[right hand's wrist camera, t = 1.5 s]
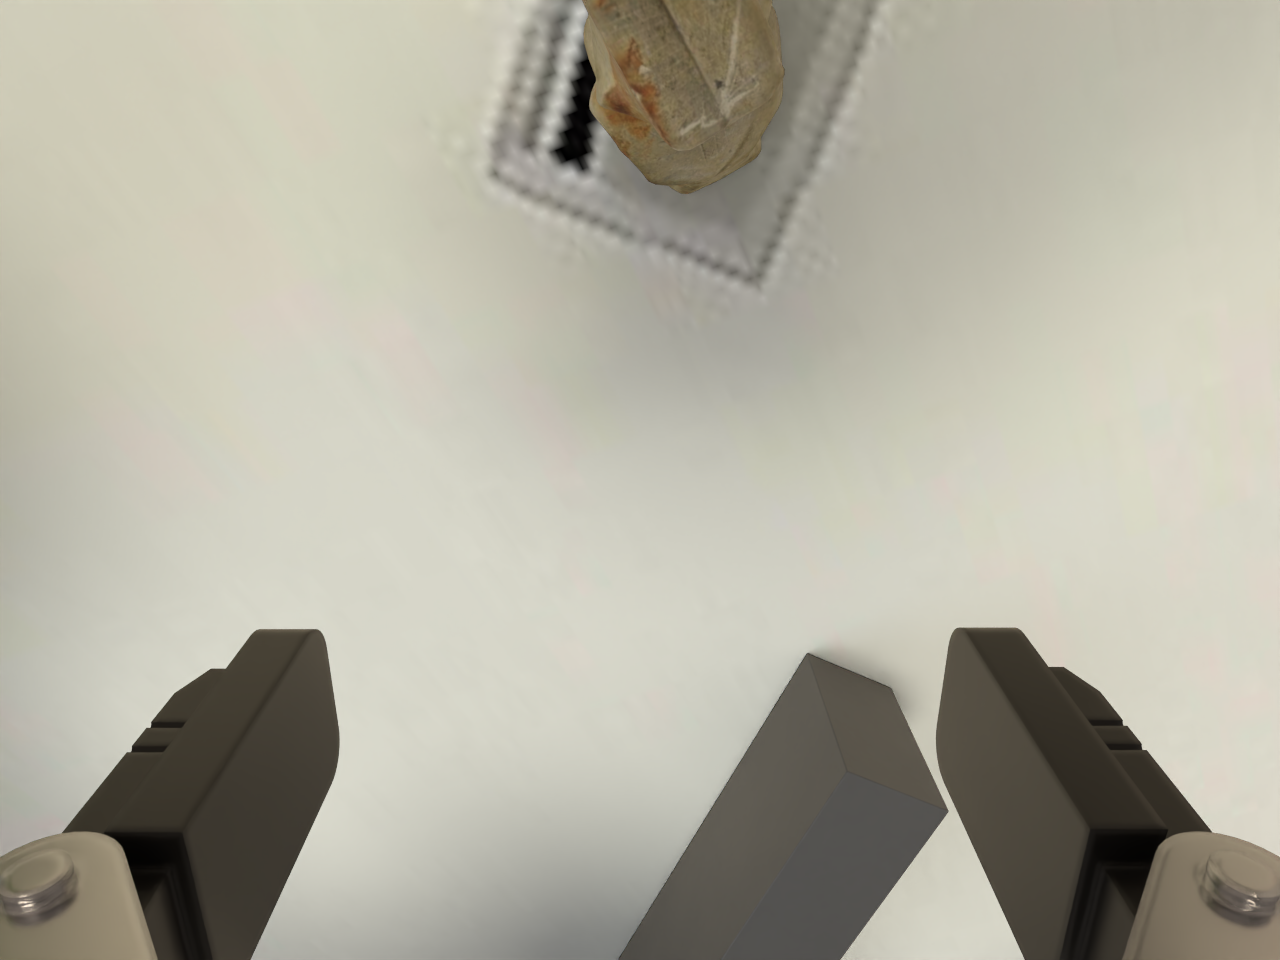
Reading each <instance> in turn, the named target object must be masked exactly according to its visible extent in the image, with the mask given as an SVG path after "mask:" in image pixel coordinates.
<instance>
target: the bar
mask: <svg viewBox="0 0 1280 960" xmlns="http://www.w3.org/2000/svg"><path fill="white" fill-rule="evenodd" d="M947 813H948V809H947V807H946V805H945V803H944V800H943V798H942V796H941V794H940V792H939V790H938V788H937V785H936V783H935V781H934V779H933V777H932V775H931V773H930V770H929V768H928V766H927V764H926V762H925V760H924V758H923V756H922V753H921V751H920V749H919V747H918V745H917V743H916V741H915V738H914V736H913V734H912V732H911V730H910V728H909V726H908V724H907V721H906V719H905V717H904V715H903V713H902V711H901V709H900V706H899V704H898V702H897V700H896V698H895V696H894V694H893V691H892V689H891V688H889V687H887V686H884V685H882V684H879V683H877V682H875V681H872V680H870V679H867V678H865V677H862V676H860V675H858V674H855V673H853V672H850V671H848V670H846V669H843V668H841V667H838V666H836V665H834V664H831V663H829V662H826V661H824V660H821V659H819V658H817V657H814V656H812V655H809V654H807V655H806V656H805V658H804V660H803V661H802V663H801V665H800V666H799V668H798V669H797V671H796V673H795V674H794V676H793V678H792V679H791V681H790V682H789V684H788V686H787V687H786V689H785V690H784V692H783V694H782V695H781V697H780V699H779V700H778V702H777V703H776V705H775V707H774V708H773V710H772V712H771V713H770V715H769V716H768V718H767V720H766V721H765V723H764V725H763V726H762V728H761V729H760V731H759V733H758V734H757V736H756V738H755V739H754V741H753V742H752V744H751V746H750V747H749V749H748V750H747V752H746V754H745V755H744V757H743V759H742V760H741V762H740V763H739V765H738V767H737V768H736V770H735V772H734V773H733V775H732V776H731V778H730V780H729V781H728V783H727V785H726V786H725V788H724V789H723V791H722V793H721V794H720V796H719V798H718V799H717V801H716V802H715V804H714V806H713V807H712V809H711V810H710V812H709V814H708V815H707V817H706V819H705V820H704V822H703V823H702V825H701V827H700V828H699V830H698V832H697V833H696V835H695V836H694V838H693V840H692V841H691V843H690V845H689V846H688V848H687V849H686V851H685V853H684V854H683V856H682V858H681V859H680V861H679V862H678V864H677V866H676V867H675V869H674V870H673V872H672V874H671V875H670V877H669V879H668V880H667V882H666V883H665V885H664V887H663V888H662V890H661V892H660V893H659V895H658V896H657V898H656V900H655V901H654V903H653V905H652V906H651V908H650V909H649V911H648V913H647V914H646V916H645V918H644V919H643V921H642V922H641V924H640V926H639V927H638V929H637V930H636V932H635V934H634V935H633V937H632V939H631V940H630V942H629V943H628V945H627V947H626V948H625V950H624V952H623V953H622V955H621V956H620V958H619V960H840V959H841V958H842V957H843V955H844V954H845V952H846V951H847V950H848V948H849V947H850V946H851V944H852V943H853V942H854V940H855V939H856V937H857V936H858V935H859V933H860V932H861V931H862V929H863V928H864V927H865V925H866V924H867V922H868V921H869V920H870V918H871V917H872V916H873V914H874V913H875V911H876V910H877V909H878V907H879V906H880V905H881V903H882V902H883V901H884V899H885V898H886V896H887V895H888V894H889V892H890V891H891V890H892V888H893V887H894V886H895V884H896V883H897V881H898V880H899V879H900V877H901V876H902V875H903V873H904V872H905V870H906V869H907V868H908V866H909V865H910V864H911V862H912V861H913V860H914V858H915V857H916V855H917V854H918V853H919V851H920V850H921V849H922V847H923V846H924V845H925V843H926V842H927V840H928V839H929V838H930V836H931V835H932V834H933V832H934V831H935V830H936V828H937V827H938V825H939V824H940V823H941V821H942V820H943V819H944V817H945V816H946V814H947Z"/></svg>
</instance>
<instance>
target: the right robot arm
mask: <svg viewBox="0 0 1280 960" xmlns="http://www.w3.org/2000/svg"><path fill="white" fill-rule="evenodd" d="M936 749H937V758H938V764H939V768H940V772H941V776H942V778H943V781H944V783H945V786H946V788H947V790H948V792H949V794H950V796H951V799H952V801H953V803H954V805H955V807H956V810H957V812H958V814H959V816H960V818H961V821H962V823H963V825H964V827H965V829H966V832H967V834H968V836H969V838H970V840H971V843H972V845H973V847H974V849H975V851H976V853H977V856H978V858H979V860H980V862H981V864H982V867H983V869H984V871H985V873H986V875H987V878H988V880H989V882H990V884H991V886H992V889H993V891H994V893H995V895H996V897H997V900H998V902H999V904H1000V906H1001V908H1002V910H1003V913H1004V915H1005V917H1006V919H1007V921H1008V924H1009V926H1010V928H1011V930H1012V932H1013V935H1014V937H1015V939H1016V941H1017V943H1018V946H1019V948H1020V950H1021V952H1022V954H1023V957H1024V959H1025V960H1280V857H1279V856H1277V855H1275V854H1273V853H1271V852H1269V851H1267V850H1266V849H1264V848H1261V847H1259V846H1257V845H1254V844H1252V843H1250V842H1247V841H1244V840H1241V839H1238V838H1235V837H1231V836H1227V835H1223V834H1218V833H1212V831H1211V830H1210V829H1209V828H1208V826H1207V825H1206V824H1205V823H1204V821H1203V820H1202V819H1201V818H1200V816H1199V815H1198V814H1197V813H1196V811H1195V810H1194V809H1193V808H1192V806H1191V805H1190V804H1189V803H1188V801H1187V800H1186V799H1185V798H1184V796H1183V795H1182V794H1181V793H1180V791H1179V790H1178V789H1177V788H1176V786H1175V785H1174V784H1173V783H1172V781H1171V780H1170V779H1169V778H1168V776H1167V775H1166V774H1165V773H1164V771H1163V770H1162V769H1161V768H1160V766H1159V765H1158V764H1157V763H1156V761H1155V760H1154V759H1153V758H1152V756H1151V755H1150V754H1149V753H1148V751H1147V750H1142V744H1141V742H1140V741H1139V740H1138V739H1137V737H1136V736H1135V735H1134V734H1133V732H1132V731H1131V730H1130V729H1129V727H1128V726H1123V720H1122V719H1121V717H1120V716H1119V715H1118V714H1117V712H1116V711H1115V710H1114V709H1113V707H1112V706H1111V705H1110V704H1109V702H1108V701H1107V700H1106V699H1105V697H1104V696H1103V695H1102V694H1101V692H1100V691H1098V690H1097V689H1095V688H1094V687H1092V686H1091V685H1089V684H1088V683H1086V682H1085V681H1083V680H1082V679H1080V678H1079V677H1078V676H1076V675H1075V674H1073V673H1072V672H1070V671H1069V670H1067V669H1066V668H1064V667H1048V666H1047V664H1046V663H1045V662H1044V660H1043V659H1042V658H1041V656H1040V655H1039V654H1038V652H1037V651H1036V649H1035V648H1034V647H1033V645H1032V644H1031V643H1030V641H1029V640H1028V639H1027V637H1026V636H1025V635H1024V633H1023V632H1022V631H1021V630H1019V629H1018V628H957V629H955V630H954V632H953V633H952V635H951V638H950V642H949V647H948V654H947V660H946V667H945V674H944V681H943V688H942V694H941V701H940V708H939V715H938V722H937V730H936ZM338 756H339V727H338V720H337V713H336V707H335V700H334V693H333V687H332V680H331V673H330V666H329V660H328V653H327V647H326V642H325V639H324V636H323V634H322V633H321V631H319V630H317V629H259V630H256V631H255V632H254V633H253V634H252V635H251V636H250V637H249V639H248V640H247V641H246V643H245V644H244V645H243V647H242V648H241V649H240V651H239V652H238V653H237V655H236V656H235V657H234V659H233V660H232V661H231V663H230V664H229V665H228V667H227V668H226V669H210V670H209V671H207V672H206V673H204V674H203V675H201V676H200V677H198V678H197V679H195V680H194V681H192V682H191V683H189V684H188V685H186V686H185V687H183V688H182V689H180V690H179V691H177V692H176V693H174V695H173V696H172V697H171V698H170V700H169V701H168V702H167V703H166V705H165V706H164V707H163V708H162V710H161V711H160V712H159V713H158V715H157V716H156V717H155V718H154V719H153V721H152V722H151V728H146V729H145V731H144V732H143V733H142V734H141V736H140V737H139V738H138V739H137V741H136V742H135V743H134V744H133V746H132V751H131V752H127V753H126V754H125V755H124V757H123V758H122V759H121V760H120V762H119V763H118V764H117V765H116V767H115V768H114V769H113V770H112V772H111V773H110V774H109V775H108V777H107V778H106V779H105V780H104V782H103V783H102V784H101V785H100V786H99V788H98V789H97V790H96V791H95V793H94V794H93V795H92V796H91V798H90V799H89V800H88V801H87V803H86V804H85V805H84V806H83V808H82V809H81V810H80V811H79V813H78V814H77V815H76V816H75V818H74V819H73V820H72V821H71V822H70V824H69V825H68V826H67V827H66V829H65V830H64V831H63V832H62V834H57V835H53V836H49V837H45V838H42V839H39V840H36V841H33V842H30V843H28V844H26V845H23V846H21V847H19V848H16V849H14V850H13V851H11V852H9V853H7V854H5V855H3V856H1V857H0V960H250V959H251V957H252V955H253V953H254V951H255V948H256V946H257V944H258V942H259V940H260V938H261V935H262V933H263V931H264V929H265V927H266V925H267V922H268V920H269V918H270V916H271V914H272V912H273V909H274V907H275V905H276V903H277V901H278V899H279V897H280V894H281V892H282V890H283V888H284V886H285V884H286V881H287V879H288V877H289V875H290V873H291V871H292V868H293V866H294V864H295V862H296V860H297V858H298V855H299V853H300V851H301V849H302V847H303V845H304V842H305V840H306V838H307V836H308V834H309V832H310V829H311V827H312V825H313V823H314V821H315V819H316V816H317V814H318V812H319V810H320V808H321V806H322V803H323V801H324V799H325V797H326V795H327V793H328V790H329V788H330V786H331V784H332V781H333V779H334V776H335V772H336V768H337V763H338Z"/></svg>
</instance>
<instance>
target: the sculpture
mask: <svg viewBox="0 0 1280 960" xmlns="http://www.w3.org/2000/svg"><path fill="white" fill-rule="evenodd" d="M582 1H583V3H584V5H585V7H586V9H587V11H588V14H589V15H588V18H587V20H586V23H585V27H584V44H585V47H586V51H587V55H588V58H589V61H590V63H591V66H592V68H593V71H594V74H595V76H596V82H595V84H594V87H593V89H592V92H591V97H590V103H589V107H590V110H591V112H592V114H593V115H594V116H595V118H596V119H597V120H598V121H599V123H600V124H601V125H602V126H603V127H604V129H605V130H606V131H607V132H608V134H609V135H610V136H611V137H612V139H613V140H614V142H615V143H616V144H617V146H618V148H619V150H620V151H621V152H622V153H623V154H624V155H626V156H627V157H628V158H629V159H630V160H631V161H632V162H633V163H634V165H635V166H636V167H637V168H638V169H639V170H640V171H641V172H642V173H643V175H644V176H645V177H646V179H647V180H648V181H649V182H651V183H654V184H658V185H667V186H670V187H671V188H672V189H674V190H676V191H677V192H679V193H682V194H689V193H692V192H694V191H697V190H699V189H701V188H703V187H705V186H707V185H710V184H712V183H714V182H716V181H718V180H720V179H722V178H723V177H725V176H727V175H729V174H730V173H732V172H734V171H736V170H737V169H739V168H741V167H742V166H744V165H746V164H748V163H749V162H751V161H752V160H754V159H755V158H756V157H757V156H758V154H759V153H760V151H761V136H762V134H763V133H764V131H765V129H766V128H767V126H768V124H769V123H770V121H771V119H772V118H773V116H774V114H775V113H776V111H777V109H778V107H779V105H780V103H781V100H782V94H783V77H784V70H785V69H784V68H783V66H782V58H781V40H780V31H779V25H778V19H777V16H776V12H775V10H774V8H773V6H772V0H582Z"/></svg>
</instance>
